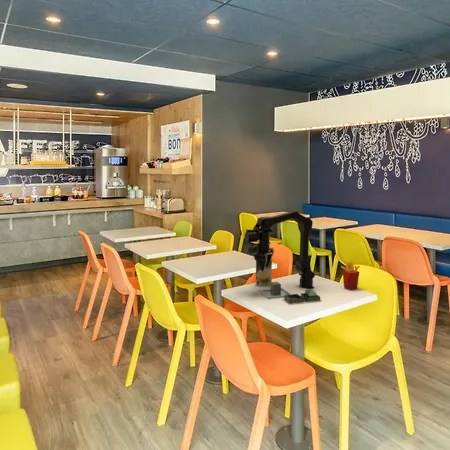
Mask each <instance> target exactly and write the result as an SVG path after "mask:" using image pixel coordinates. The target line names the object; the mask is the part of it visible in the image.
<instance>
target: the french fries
mask: <svg viewBox="0 0 450 450" xmlns="http://www.w3.org/2000/svg"><path fill="white" fill-rule="evenodd" d="M340 268H341V269H343V270H342V278H343V279H342V280H343V288H344V289H346V290H347V291H354V290H358V285H359V279H360V278H359V277H360V271H358V269H359V268H361V266H360V265H358V266H357V265H354V263H353V262H352V260H351V261H350V260H349V262H346V263H345V266H343V265H342V266H340Z"/></svg>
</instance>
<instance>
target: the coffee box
mask: <svg viewBox="0 0 450 450" xmlns="http://www.w3.org/2000/svg"><path fill="white" fill-rule="evenodd" d="M272 262H273V260H272V258H271V261H270V263H269V265H268V267H266V266H265V268H264V271H261V269H260V265H259V262H258V261H256V260H255V287H270V282H273V281H272V280H273V279H272V275H273V274H272V273H273V272H272V265H273V263H272Z"/></svg>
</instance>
